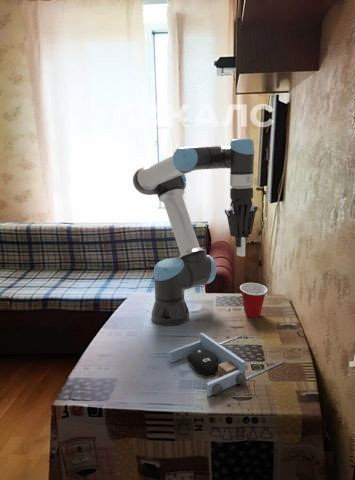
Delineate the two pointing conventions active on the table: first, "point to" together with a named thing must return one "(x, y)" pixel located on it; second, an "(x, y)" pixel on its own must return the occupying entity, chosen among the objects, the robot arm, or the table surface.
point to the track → (254, 373)
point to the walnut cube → (226, 368)
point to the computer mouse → (203, 363)
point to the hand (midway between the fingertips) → (240, 255)
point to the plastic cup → (253, 298)
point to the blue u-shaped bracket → (221, 357)
